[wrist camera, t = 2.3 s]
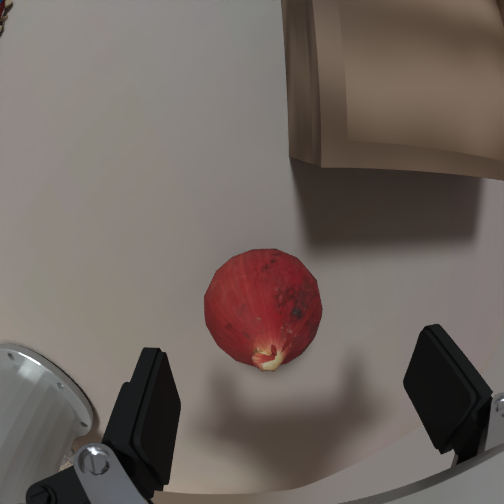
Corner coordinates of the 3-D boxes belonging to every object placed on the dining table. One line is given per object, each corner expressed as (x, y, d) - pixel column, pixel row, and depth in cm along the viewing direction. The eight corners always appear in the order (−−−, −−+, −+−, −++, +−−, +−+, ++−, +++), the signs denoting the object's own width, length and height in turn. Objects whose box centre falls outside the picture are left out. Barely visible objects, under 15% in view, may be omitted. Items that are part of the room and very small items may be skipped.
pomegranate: (262, 209, 17) (287, 267, 9) (321, 276, 19) (370, 358, 11) (189, 273, 18) (166, 361, 11) (252, 330, 20) (263, 425, 12)
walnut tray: (473, 168, 17) (535, 186, 11) (289, 156, 16) (321, 167, 10) (457, -2, 11) (508, -21, 6) (276, -48, 11) (294, -105, 5)
